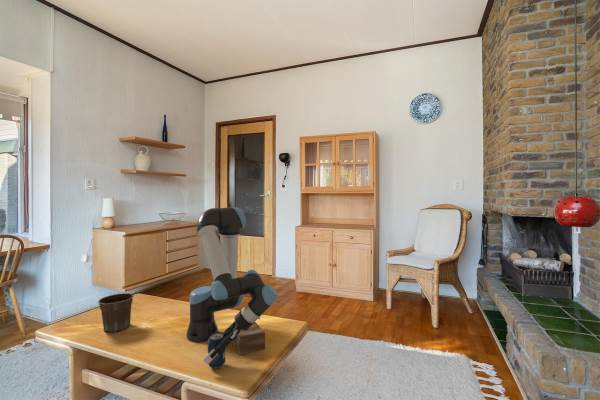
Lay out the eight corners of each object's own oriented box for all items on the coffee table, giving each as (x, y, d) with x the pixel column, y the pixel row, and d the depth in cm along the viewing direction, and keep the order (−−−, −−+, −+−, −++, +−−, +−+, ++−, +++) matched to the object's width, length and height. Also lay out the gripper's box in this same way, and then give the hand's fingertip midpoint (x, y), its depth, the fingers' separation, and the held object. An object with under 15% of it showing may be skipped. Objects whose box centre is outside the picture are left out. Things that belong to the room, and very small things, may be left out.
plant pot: (96, 327, 161) (96, 297, 161) (130, 318, 172) (129, 290, 172) (101, 337, 149) (100, 306, 149) (137, 328, 160) (136, 298, 159)
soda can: (204, 368, 121) (204, 339, 121) (213, 358, 128) (212, 331, 127) (220, 370, 120) (220, 341, 119) (228, 360, 126) (227, 332, 126)
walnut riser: (232, 343, 143) (232, 326, 143) (256, 337, 149) (255, 321, 148) (239, 355, 132) (239, 337, 132) (265, 348, 138) (264, 331, 138)
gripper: (251, 334, 114) (208, 377, 114) (255, 313, 134) (219, 349, 133) (237, 321, 114) (194, 364, 113) (243, 301, 133) (207, 338, 133)
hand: (208, 356), depth 123 cm, fingers closed on soda can, 7 cm apart
